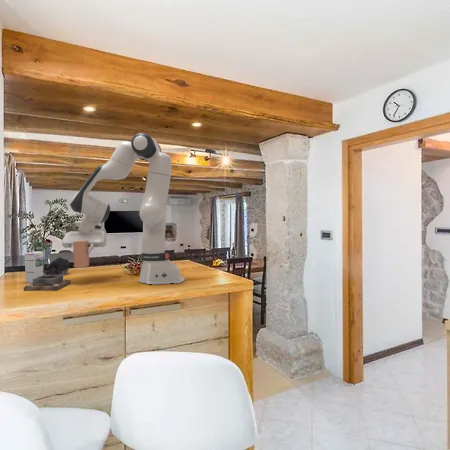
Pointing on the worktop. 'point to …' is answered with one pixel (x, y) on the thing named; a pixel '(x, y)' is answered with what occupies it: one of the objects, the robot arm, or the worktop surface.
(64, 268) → the crystal cluster
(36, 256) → the syrup box
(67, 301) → the worktop surface
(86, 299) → the worktop surface
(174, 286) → the worktop surface
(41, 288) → the walnut base board
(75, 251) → the terracotta tower block
